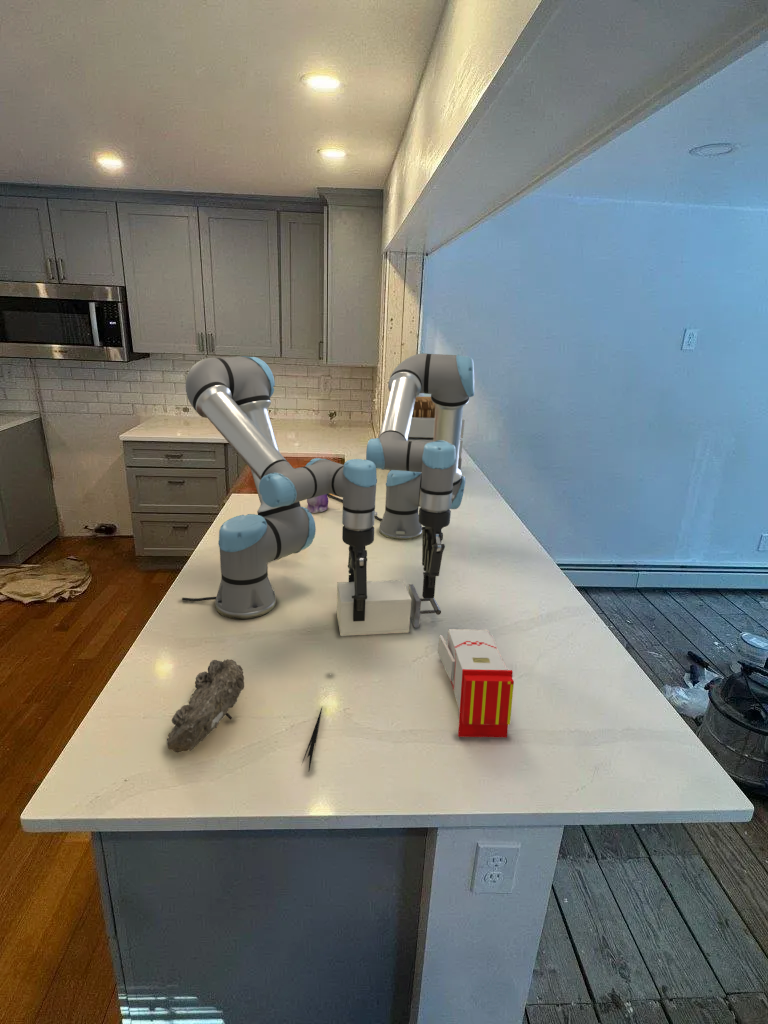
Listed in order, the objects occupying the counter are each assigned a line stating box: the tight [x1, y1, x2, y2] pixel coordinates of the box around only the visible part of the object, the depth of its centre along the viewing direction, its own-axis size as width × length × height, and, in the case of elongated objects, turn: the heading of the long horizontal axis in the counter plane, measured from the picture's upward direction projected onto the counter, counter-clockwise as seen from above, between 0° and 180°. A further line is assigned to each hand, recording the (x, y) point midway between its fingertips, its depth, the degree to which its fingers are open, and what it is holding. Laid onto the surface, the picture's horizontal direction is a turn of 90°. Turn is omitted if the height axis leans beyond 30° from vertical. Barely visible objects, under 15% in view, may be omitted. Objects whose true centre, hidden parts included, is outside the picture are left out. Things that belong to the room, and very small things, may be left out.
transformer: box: [389, 395, 465, 472], centre depth 268 cm, size 34×33×41 cm
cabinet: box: [336, 579, 411, 637], centre depth 141 cm, size 17×10×9 cm, turn 100°
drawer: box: [407, 583, 442, 628], centre depth 142 cm, size 21×9×7 cm, turn 99°
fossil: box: [166, 658, 245, 754], centre depth 106 cm, size 22×10×15 cm
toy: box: [437, 628, 515, 738], centre depth 117 cm, size 12×13×30 cm
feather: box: [301, 673, 332, 771], centre depth 108 cm, size 2×28×2 cm
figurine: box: [306, 494, 329, 514], centre depth 217 cm, size 9×10×15 cm
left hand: (356, 608), depth 140 cm, fingers closed on cabinet, 10 cm apart
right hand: (428, 596), depth 142 cm, fingers closed
